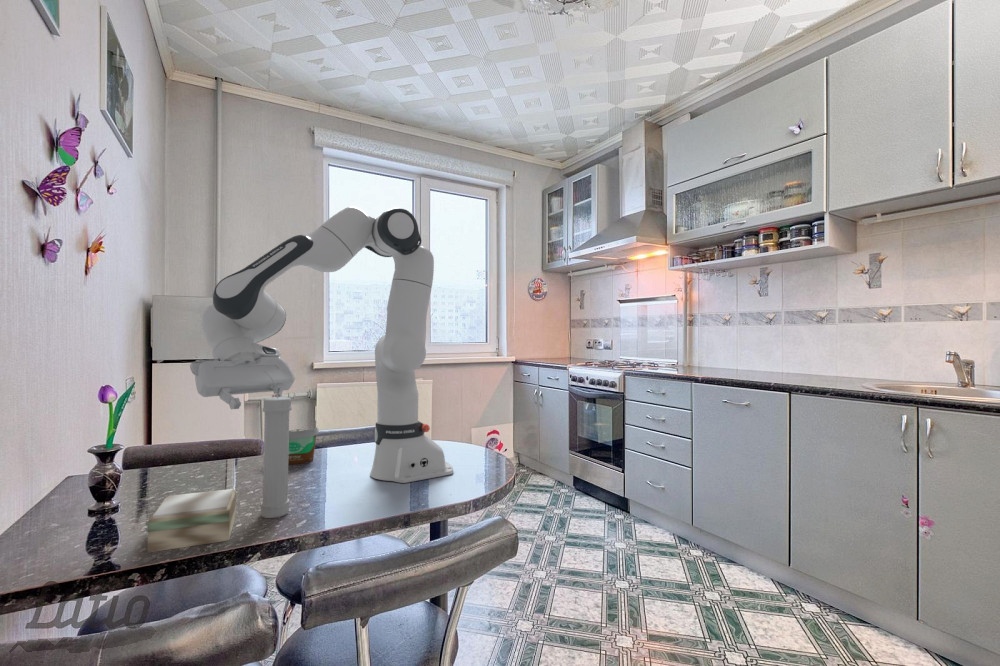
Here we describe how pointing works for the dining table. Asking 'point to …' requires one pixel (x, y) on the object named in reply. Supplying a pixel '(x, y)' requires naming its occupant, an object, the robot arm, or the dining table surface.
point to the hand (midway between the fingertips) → (258, 405)
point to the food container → (301, 446)
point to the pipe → (276, 456)
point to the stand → (192, 520)
